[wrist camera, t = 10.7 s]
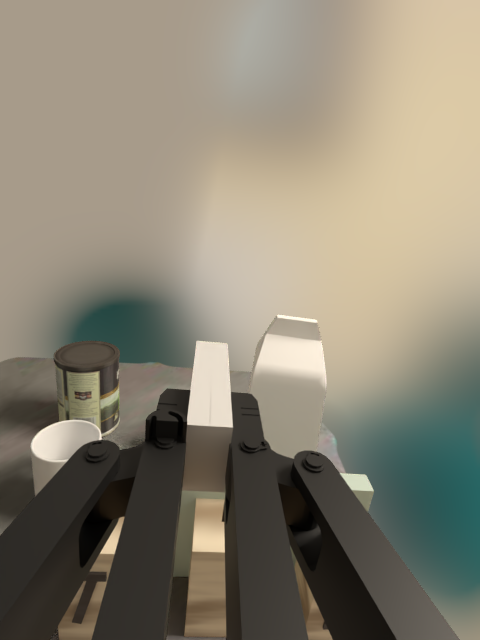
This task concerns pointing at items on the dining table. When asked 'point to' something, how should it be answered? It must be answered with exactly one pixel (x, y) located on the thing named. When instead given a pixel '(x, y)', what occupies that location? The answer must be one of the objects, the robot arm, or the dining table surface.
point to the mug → (58, 447)
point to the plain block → (207, 572)
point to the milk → (290, 384)
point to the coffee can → (88, 383)
